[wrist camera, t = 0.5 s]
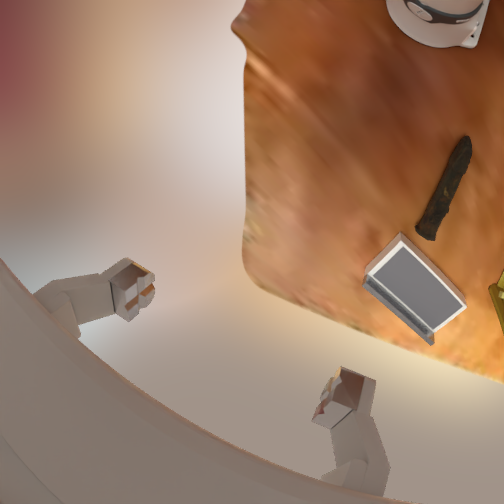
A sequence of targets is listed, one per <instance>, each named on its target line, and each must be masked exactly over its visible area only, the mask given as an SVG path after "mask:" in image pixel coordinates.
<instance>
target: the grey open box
mask: <svg viewBox="0 0 504 504" xmlns="http://www.w3.org/2000/svg"><path fill="white" fill-rule="evenodd" d="M362 286H363V287H364V288H365V289H366V290H367V291H369V292H370V293H371V294H372V295H373V296H374V297H376V298H377V299H378V300H379V301H380V302H382V303H383V304H384V305H385V306H386V307H387V308H389V309H390V310H391V311H392V312H393V313H394V314H395V315H397V316H398V317H399V318H400V319H401V320H402V321H403V322H405V323H406V324H407V325H408V326H409V327H410V328H411V329H413V330H414V331H415V332H416V333H417V334H418V335H419V336H420V337H422V338H423V339H424V340H425V341H426V342H427V343H428V344H429V345H430V346H431V345H433V344H434V333H435V332H436V331H437V330H439V329H440V328H441V327H443V326H444V325H445V324H447V323H448V322H449V321H451V320H452V319H453V318H454V317H456V316H457V315H458V314H459V313H461V312H462V311H463V310H464V309H466V308H467V305H466V301H465V297H464V295H463V294H462V293H461V292H460V291H459V290H458V289H457V287H456V286H455V285H454V284H453V283H452V282H451V281H450V280H449V279H448V278H447V277H446V276H445V275H444V274H443V273H442V272H441V271H440V270H439V269H438V268H437V267H436V266H435V265H434V264H433V263H432V262H431V261H430V260H429V259H428V258H427V257H426V256H425V255H424V254H423V253H422V252H421V251H420V250H419V249H418V248H417V247H416V246H415V245H414V244H413V243H412V242H411V241H410V240H409V239H408V238H407V237H405V236H404V235H403V234H402V233H401V232H400V233H399V234H398V235H397V236H396V237H395V238H394V239H393V240H392V241H391V242H390V243H389V244H388V245H387V246H386V247H385V248H384V249H383V250H382V251H381V252H380V253H379V254H378V255H377V256H376V257H375V258H374V259H373V260H372V261H371V262H370V263H369V264H368V265H367V266H366V268H365V274H364V279H363V284H362Z"/></svg>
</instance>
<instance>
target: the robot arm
mask: <svg viewBox="0 0 504 504" xmlns="http://www.w3.org/2000/svg"><path fill="white" fill-rule="evenodd" d="M488 4H489V0H386V5H387V9H388V11H389V14H390V16H391V18H392V19H393V21H394V22H395V24H396V25H397V26H398V27H399V28H400V29H401V30H402V31H403V32H404V33H405V34H407V35H408V36H409V37H411V38H412V39H414V40H416V41H418V42H420V43H422V44H425V45H428V46H432V47H439V48H444V47H451V46H462V47H466V48H474V47H475V46H476V45H477V42H478V39H479V36H480V33H481V29H482V26H483V23H484V19H485V15H486V12H487V8H488ZM471 35H473V38H472V37H471ZM154 281H155V276H154V274H153V273H151V272H150V271H149V270H147V269H145V268H144V267H142V266H140V265H139V264H137V263H136V262H134V261H132V260H130V259H129V258H123V259H122V260H120V261H119V262H117V263H116V264H115V265H113V266H112V267H111V268H109V269H107V270H106V271H105V272H103V273H102V274H100V275H99V274H98V273H97V274H90V275H84V276H78V277H72V278H65V279H60V280H53V281H51V282H50V283H48V284H47V285H45V286H44V287H42V288H41V289H40V290H38V291H37V292H36V293H34V294H31V293H30V292H29V291H28V289H27V288H26V287H25V286H24V285H23V284H22V283H21V282H20V280H18V278H17V277H16V276H15V275H14V274H13V272H12V271H11V270H10V269H9V268H8V267H7V265H6V264H5V262H4V261H3V260H2V259H1V258H0V504H420V503H413V502H406V501H400V500H395V499H389V498H384V497H383V494H384V491H385V487H386V483H387V479H388V475H389V471H390V465H389V462H388V459H387V456H386V454H385V450H384V447H383V444H382V441H381V439H380V436H379V433H378V430H377V428H376V425H375V422H374V419H373V417H371V416H370V412H371V407H372V403H373V398H374V392H375V386H376V380H373V379H371V378H368V377H366V376H363V375H361V374H359V373H356V372H354V371H351V370H349V369H346V368H344V367H339V368H338V370H337V371H336V373H335V376H334V377H332V378H330V380H329V381H328V383H327V384H326V386H325V388H324V390H323V392H322V394H321V397H320V400H321V403H320V404H319V405H318V407H317V408H316V411H315V413H314V416H313V418H312V422H314V423H316V424H319V425H321V426H323V427H326V428H328V429H330V433H331V438H332V444H333V449H334V455H335V461H336V466H337V468H336V469H334V470H332V471H331V472H329V473H327V474H324V475H322V477H321V479H320V480H318V479H315V478H312V477H309V476H306V475H303V474H300V473H297V472H295V471H292V470H290V469H287V468H285V467H282V466H279V465H277V464H275V463H272V462H270V461H268V460H265V459H263V458H260V457H258V456H256V455H254V454H252V453H250V452H248V451H246V450H243V449H241V448H239V447H237V446H235V445H233V444H231V443H229V442H227V441H225V440H223V439H221V438H219V437H218V436H216V435H214V434H212V433H210V432H208V431H206V430H205V429H203V428H201V427H199V426H198V425H196V424H194V423H192V422H191V421H189V420H187V419H186V418H184V417H182V416H181V415H179V414H177V413H176V412H174V411H173V410H171V409H169V408H168V407H166V406H165V405H163V404H162V403H160V402H159V401H157V400H156V399H154V398H153V397H151V396H150V395H148V394H147V393H145V392H144V391H142V390H141V389H140V388H138V387H137V386H135V385H134V384H133V383H131V382H130V381H129V380H127V379H126V378H124V377H123V376H122V375H120V374H119V373H118V372H117V371H115V370H114V369H113V368H111V367H110V366H109V365H108V364H106V363H105V362H104V361H103V360H101V359H100V358H99V357H98V356H96V355H95V354H94V353H93V352H92V351H91V350H89V349H88V348H87V347H86V346H85V345H84V344H82V343H81V342H80V341H79V340H78V338H79V337H80V335H81V333H80V330H79V327H78V325H80V324H83V323H86V322H90V321H93V320H96V319H100V318H103V317H106V316H109V315H113V314H115V313H116V314H117V315H119V316H120V317H122V318H123V319H125V320H126V321H128V322H130V321H131V320H132V319H133V318H134V317H135V316H137V315H138V314H139V310H140V308H145V307H147V306H148V305H149V304H150V303H151V301H152V299H153V298H154V294H155V288H154V286H153V284H152V282H154Z"/></svg>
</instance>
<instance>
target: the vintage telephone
mask: <svg viewBox="0 0 504 504" xmlns="http://www.w3.org/2000/svg"><path fill="white" fill-rule="evenodd" d="M488 290H489V293H490V295H491V298H492V301H493V303H494V306H495V309H496V312H497V315H498V318H499V321H500V324H501V327H502V331H503V334H504V271H503V273H502V275H501V277H500V279H499V281H498V284H492V285H490V286H489V288H488Z"/></svg>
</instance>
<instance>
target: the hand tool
mask: <svg viewBox="0 0 504 504" xmlns="http://www.w3.org/2000/svg"><path fill="white" fill-rule="evenodd" d="M471 156H472V144H471V140H470V137H469V136H464V137H463V138H462V139H461V141H460V142H459V144H458V145H457V146H456V148H455V150H454V152H453V153H452V155H451V157H450V159H449V164H448V167H447V169H446V171H445V173H444V175H443V177H442V179H441V181H440V183H439V185H438V187H437V190H436V192H435V194H434V196H433V198H432V200H431V201H430V203H429V205H428V208H427V210H426V213H425V214H424V216H423V218H422V220H421V222H420V223H419V224H418V225H415V229H416V232H417V233H418V234H419V235H421V236H422V237H424V238H425V239H427V240H431V241H435V237H436V232H437V229H438V227H439V225H440V223H441V221H442V219H443V218H444V217H445V215H446V213H448V212H449V205H450V203H451V201H452V199H453V197H454V195H455V192H456V190H457V188H458V185H459V183H460V180H461V178H462V176H463V174H465V173H466V170H467V168H468V165H469V163H470V159H471Z"/></svg>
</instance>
